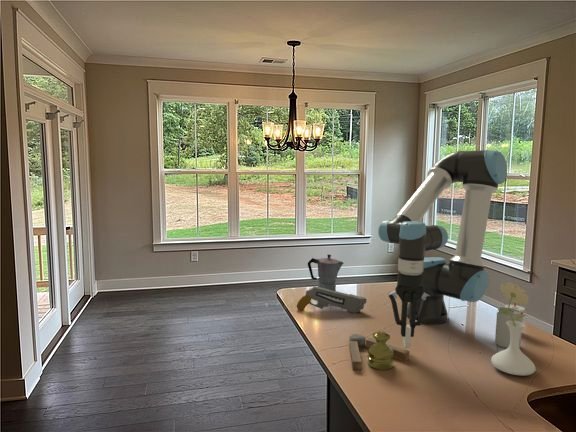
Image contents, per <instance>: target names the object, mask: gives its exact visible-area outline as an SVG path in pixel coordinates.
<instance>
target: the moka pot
mask: <svg viewBox="0 0 576 432" xmlns="http://www.w3.org/2000/svg"><path fill="white" fill-rule="evenodd" d="M331 257H332V254H327V257H324V258H323V257H321V258H313V257H312V258H311V259H310V260H309V261H308V262H307V267H308V270H309V274H310V277H311V279H312V280H317V279H318V283H317V287H321V288H325V289H329V290H333V291H337V290H336V289H337V288H336V287H337V286H336V280H337V278H338V274H339V271H340V269H341V268H342V266H343V265H344V262H343V261H342V260H338V259H336V258H331ZM312 263H314V264H317V275H318V278H317V277H314V273H313V269H312Z"/></svg>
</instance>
